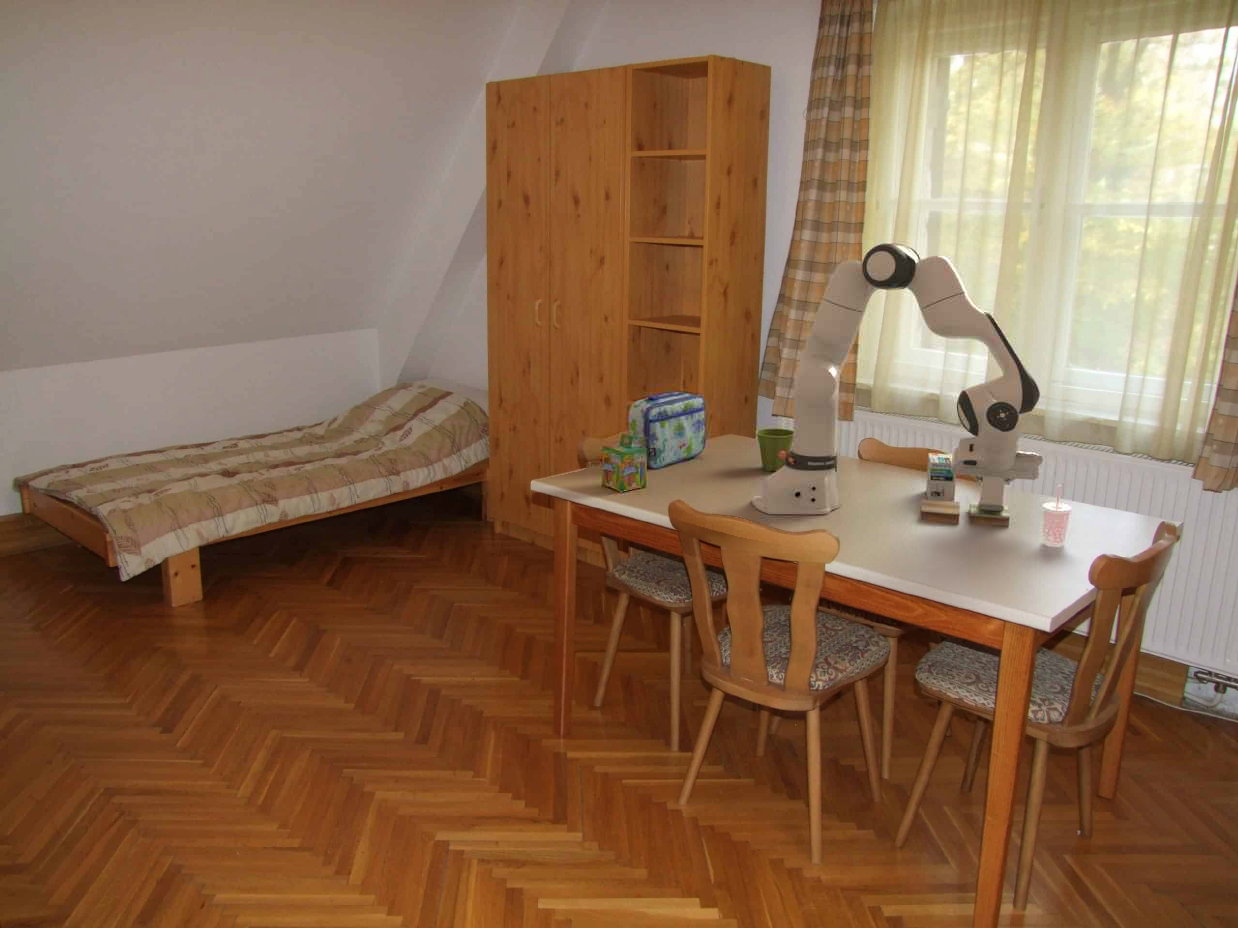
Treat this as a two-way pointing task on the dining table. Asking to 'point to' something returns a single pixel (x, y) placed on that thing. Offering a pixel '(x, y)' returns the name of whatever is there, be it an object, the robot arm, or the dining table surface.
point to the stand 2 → (988, 515)
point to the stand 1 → (940, 511)
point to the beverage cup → (1055, 522)
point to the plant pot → (774, 446)
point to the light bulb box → (940, 478)
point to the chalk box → (624, 465)
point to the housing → (991, 493)
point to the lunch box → (669, 427)
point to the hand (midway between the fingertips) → (992, 481)
